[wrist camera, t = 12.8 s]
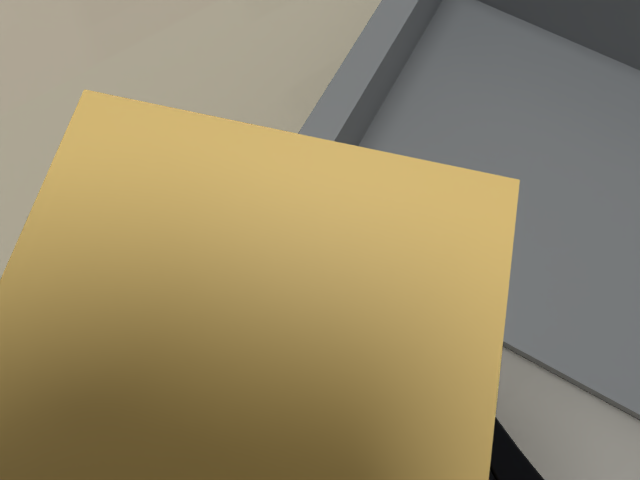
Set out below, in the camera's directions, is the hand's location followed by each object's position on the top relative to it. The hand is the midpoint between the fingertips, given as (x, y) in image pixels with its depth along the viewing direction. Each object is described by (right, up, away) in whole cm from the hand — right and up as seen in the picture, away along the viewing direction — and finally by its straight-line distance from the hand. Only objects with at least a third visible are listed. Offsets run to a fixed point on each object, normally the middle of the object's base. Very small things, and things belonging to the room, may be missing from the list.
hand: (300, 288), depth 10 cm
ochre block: (0, -3, +6) cm, 6 cm away
